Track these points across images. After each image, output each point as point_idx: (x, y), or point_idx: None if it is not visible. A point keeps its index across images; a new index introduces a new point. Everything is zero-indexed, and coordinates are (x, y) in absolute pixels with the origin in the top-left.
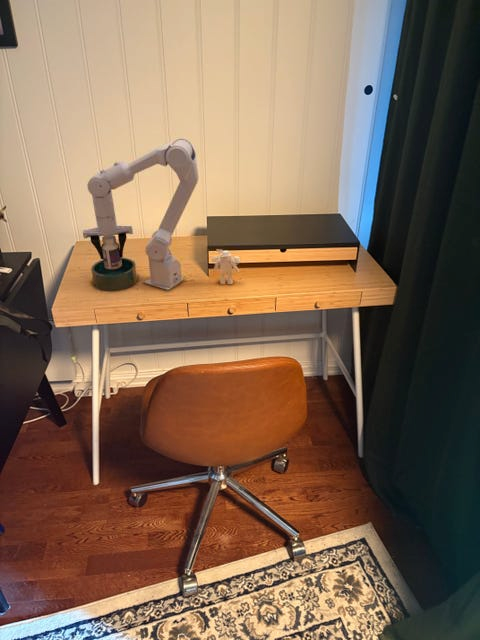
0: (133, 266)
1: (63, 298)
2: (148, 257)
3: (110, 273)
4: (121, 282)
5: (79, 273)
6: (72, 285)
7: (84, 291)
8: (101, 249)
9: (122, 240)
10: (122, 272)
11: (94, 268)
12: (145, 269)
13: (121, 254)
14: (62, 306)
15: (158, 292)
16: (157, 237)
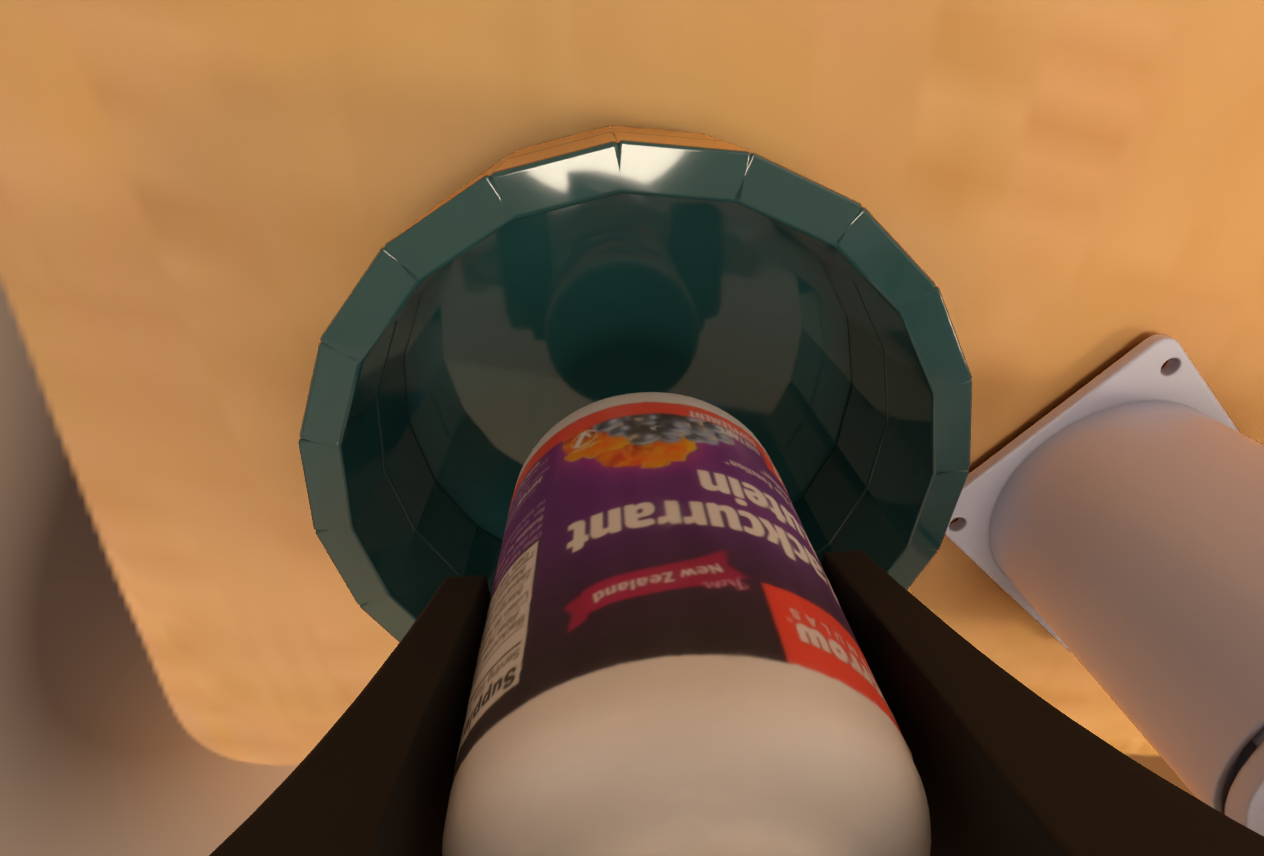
0: (919, 538)
1: (165, 644)
2: (1231, 758)
3: (559, 219)
4: None
5: (76, 84)
6: (139, 427)
7: (327, 561)
8: (449, 750)
9: None
10: (721, 221)
11: (353, 466)
12: (1032, 155)
13: None
14: (215, 740)
15: (982, 652)
16: None
